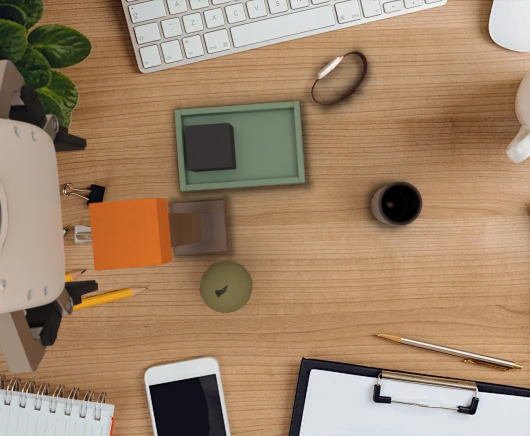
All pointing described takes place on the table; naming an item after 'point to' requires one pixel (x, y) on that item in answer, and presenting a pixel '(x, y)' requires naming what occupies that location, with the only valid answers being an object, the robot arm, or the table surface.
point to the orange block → (130, 233)
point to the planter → (397, 203)
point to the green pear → (226, 286)
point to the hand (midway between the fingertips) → (70, 216)
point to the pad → (210, 147)
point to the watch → (331, 66)
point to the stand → (198, 227)
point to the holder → (248, 146)
